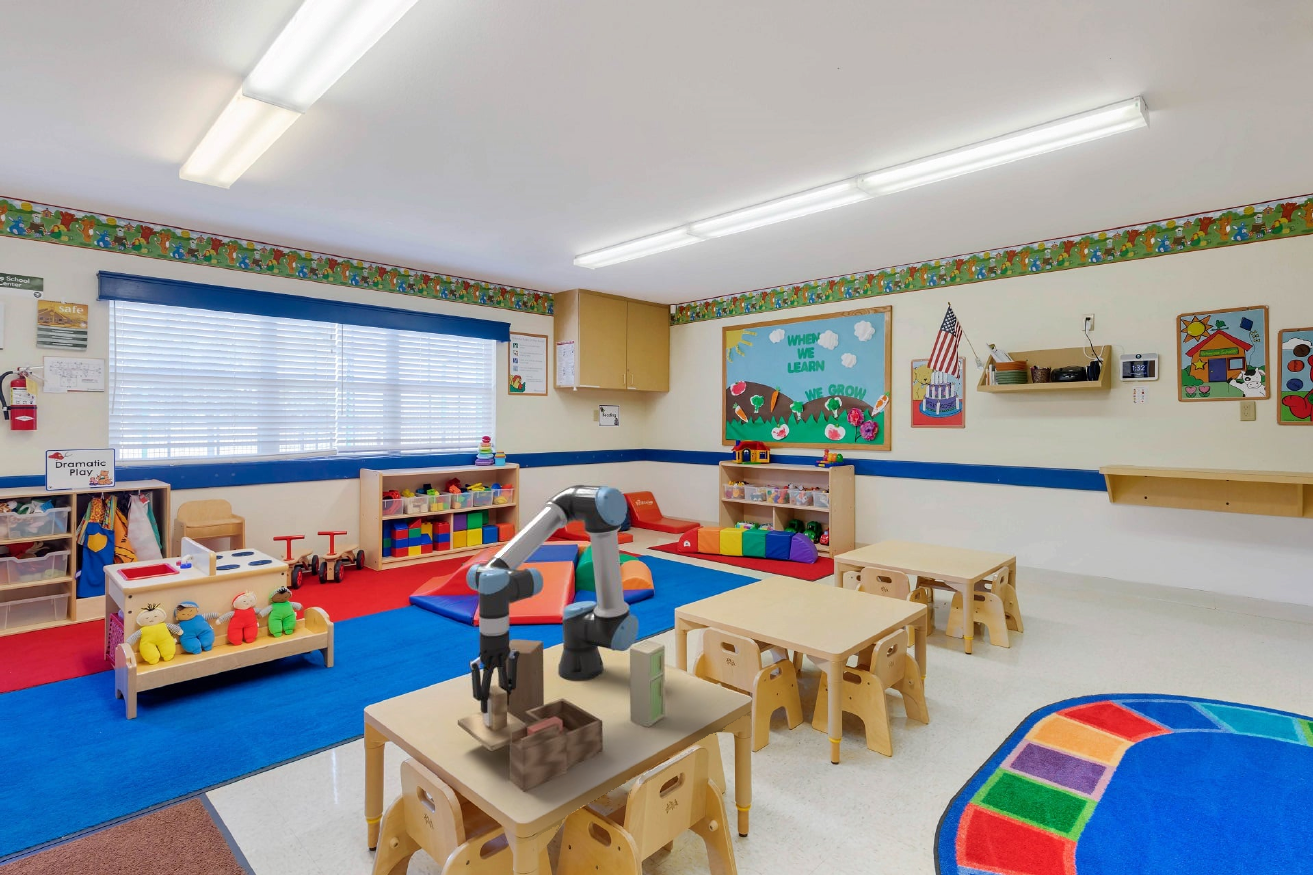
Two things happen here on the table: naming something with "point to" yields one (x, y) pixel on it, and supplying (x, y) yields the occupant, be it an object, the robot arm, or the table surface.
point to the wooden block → (526, 678)
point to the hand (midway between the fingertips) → (495, 721)
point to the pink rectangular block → (544, 725)
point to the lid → (493, 722)
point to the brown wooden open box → (553, 743)
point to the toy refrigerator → (647, 683)
